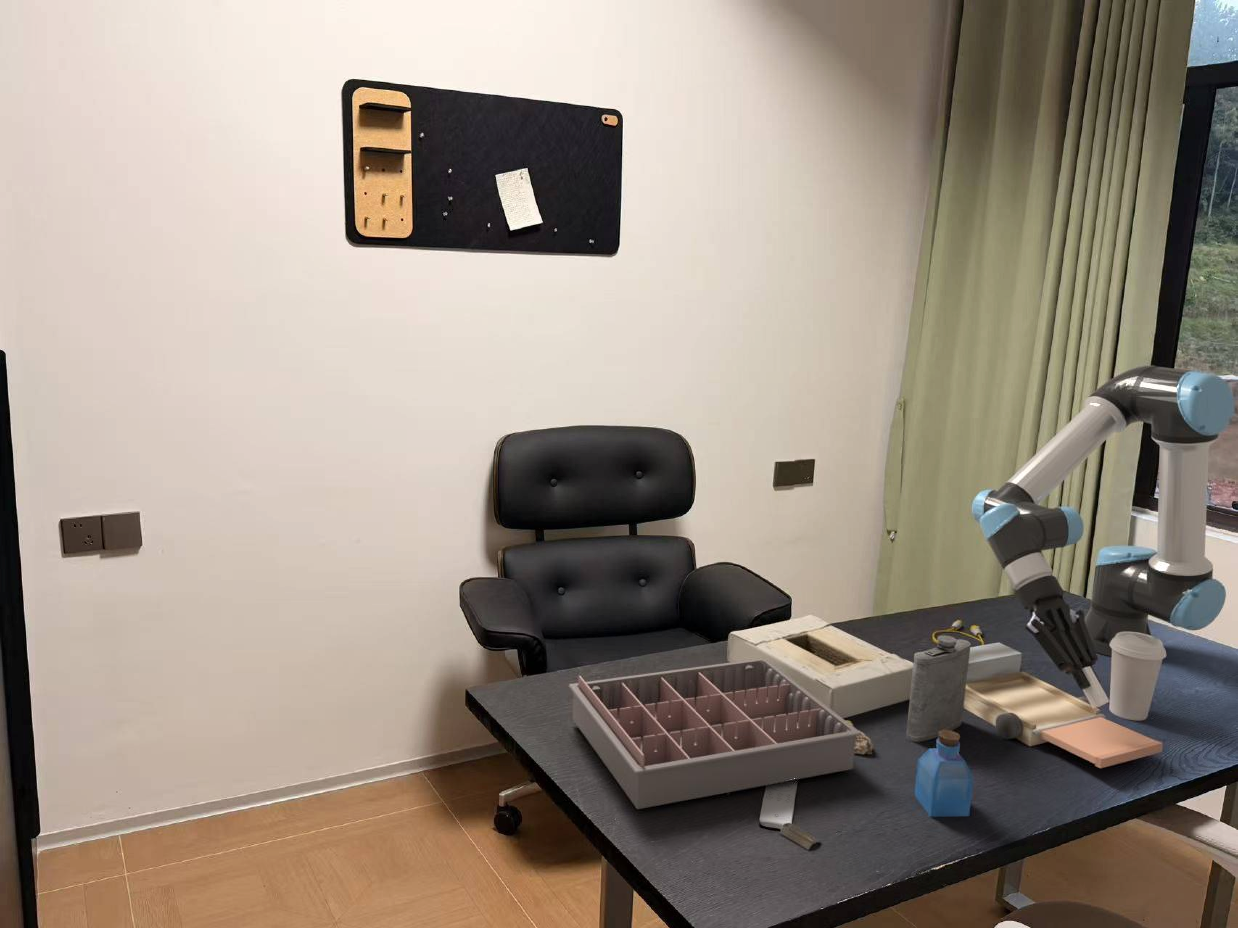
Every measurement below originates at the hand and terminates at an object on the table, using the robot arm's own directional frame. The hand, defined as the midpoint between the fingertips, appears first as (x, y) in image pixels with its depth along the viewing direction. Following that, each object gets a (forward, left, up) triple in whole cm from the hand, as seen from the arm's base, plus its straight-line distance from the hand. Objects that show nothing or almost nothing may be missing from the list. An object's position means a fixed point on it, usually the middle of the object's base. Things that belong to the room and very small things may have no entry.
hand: (1101, 704), depth 168 cm
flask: (+25, -7, -10) cm, 28 cm away
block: (+56, +28, -10) cm, 64 cm away
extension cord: (+5, -53, -10) cm, 54 cm away
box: (+42, -28, -10) cm, 52 cm away
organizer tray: (+68, +2, -10) cm, 69 cm away
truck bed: (+8, -17, -9) cm, 21 cm away
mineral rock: (+43, -2, -10) cm, 44 cm away
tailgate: (+2, -6, -6) cm, 9 cm away
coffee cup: (-15, -17, -10) cm, 25 cm away
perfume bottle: (+32, +18, -10) cm, 38 cm away
